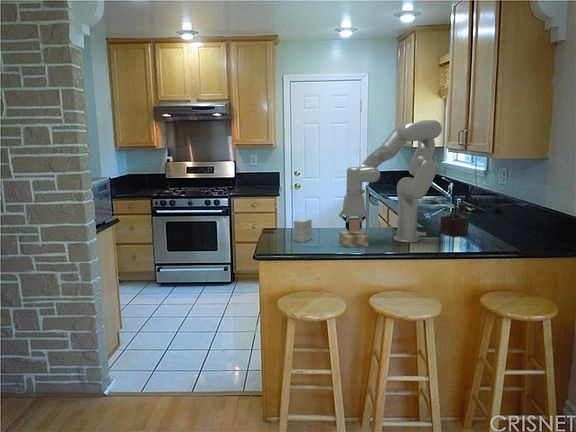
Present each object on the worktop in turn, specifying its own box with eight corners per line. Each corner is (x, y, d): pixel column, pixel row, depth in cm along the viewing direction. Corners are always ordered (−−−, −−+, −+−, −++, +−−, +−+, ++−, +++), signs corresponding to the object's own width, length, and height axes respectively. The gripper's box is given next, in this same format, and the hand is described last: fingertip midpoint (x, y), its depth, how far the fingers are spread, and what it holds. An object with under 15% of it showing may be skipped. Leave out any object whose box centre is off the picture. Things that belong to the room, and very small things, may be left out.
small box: (303, 237, 241) (303, 217, 239) (312, 239, 238) (311, 219, 235) (293, 240, 235) (293, 220, 233) (302, 242, 231) (302, 221, 229)
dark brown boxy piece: (438, 233, 246) (439, 200, 243) (453, 231, 251) (455, 198, 247) (460, 239, 232) (462, 204, 229) (476, 237, 237) (478, 202, 234)
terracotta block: (357, 229, 228) (357, 217, 227) (359, 231, 223) (360, 219, 222) (347, 229, 228) (347, 217, 227) (349, 232, 223) (349, 219, 222)
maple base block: (363, 240, 233) (363, 230, 232) (368, 246, 221) (368, 236, 220) (339, 241, 232) (339, 231, 231) (343, 247, 221) (343, 237, 220)
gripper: (369, 191, 226) (369, 227, 229) (335, 192, 225) (335, 228, 229) (373, 193, 219) (372, 231, 222) (338, 194, 218) (337, 231, 221)
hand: (353, 229), depth 225 cm, fingers closed on terracotta block, 5 cm apart
